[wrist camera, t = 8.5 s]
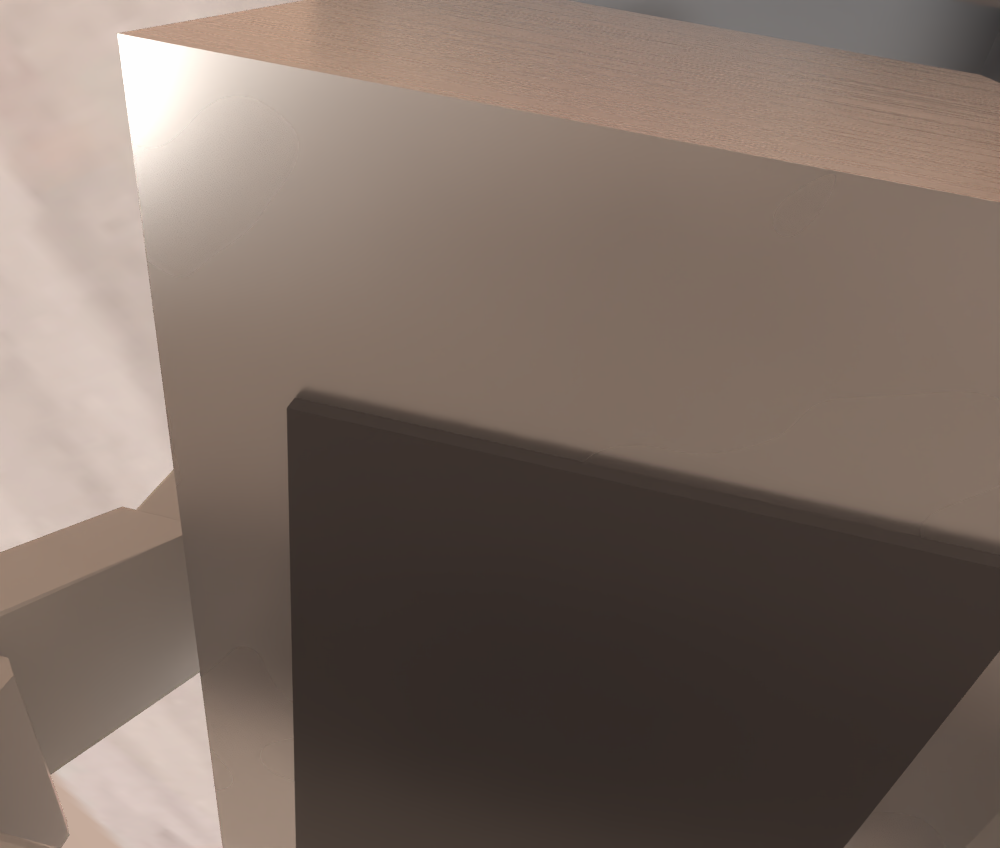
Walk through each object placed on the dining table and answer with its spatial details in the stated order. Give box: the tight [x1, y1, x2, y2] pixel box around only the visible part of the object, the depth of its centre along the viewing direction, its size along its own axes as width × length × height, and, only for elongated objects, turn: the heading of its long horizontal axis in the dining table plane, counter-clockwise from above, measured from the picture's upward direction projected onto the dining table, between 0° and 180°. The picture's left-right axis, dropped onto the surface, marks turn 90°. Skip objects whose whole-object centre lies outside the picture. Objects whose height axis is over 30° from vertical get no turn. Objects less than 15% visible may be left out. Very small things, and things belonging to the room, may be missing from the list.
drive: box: [117, 0, 1000, 848], centre depth 8 cm, size 5×10×5 cm, turn 172°
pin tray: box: [568, 0, 1000, 83], centre depth 14 cm, size 11×13×4 cm
